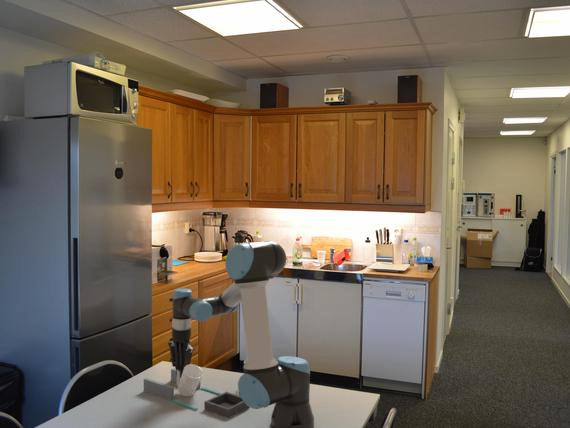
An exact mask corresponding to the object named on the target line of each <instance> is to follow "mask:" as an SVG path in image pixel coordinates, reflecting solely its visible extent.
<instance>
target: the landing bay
mask: <svg viewBox="0 0 570 428" xmlns="http://www.w3.org/2000/svg"><path fill="white" fill-rule="evenodd" d="M200 389H201V390H203V391H206V392H209V393H212V394H215V395H217V396H218V395H220V394H222V392H219V391H218V390H217V391H216V390H214V389H211V388H208V387H204V386H201V387H200ZM171 402H172V403H174V404H176V405H179V406H183V407H185V408H188V409H191V410H194V411H197V410H199V408H198V407H196V406H193V405H191V404H187V403H185V402H182V401H179V400H176V399H174V400H171Z"/></svg>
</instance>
